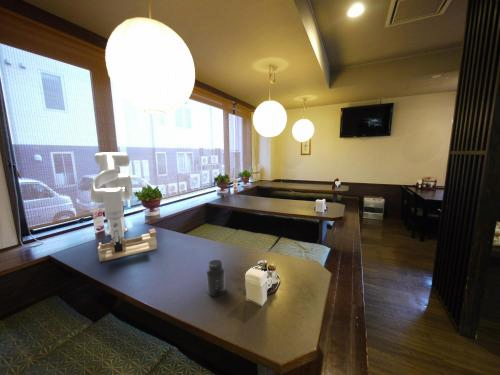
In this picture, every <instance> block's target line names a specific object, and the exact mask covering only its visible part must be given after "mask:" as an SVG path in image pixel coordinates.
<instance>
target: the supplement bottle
mask: <svg viewBox="0 0 500 375" xmlns="http://www.w3.org/2000/svg"><path fill="white" fill-rule="evenodd" d="M206 284H207V285H206V286H207V293H208V295H209V296H211V297H219V296H222V295H223V294H224V293H225V291H226V275H225V269H224V267H223V264H222V260H220V259H212V260H211V261H209V263H208V269H207V271H206Z"/></svg>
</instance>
